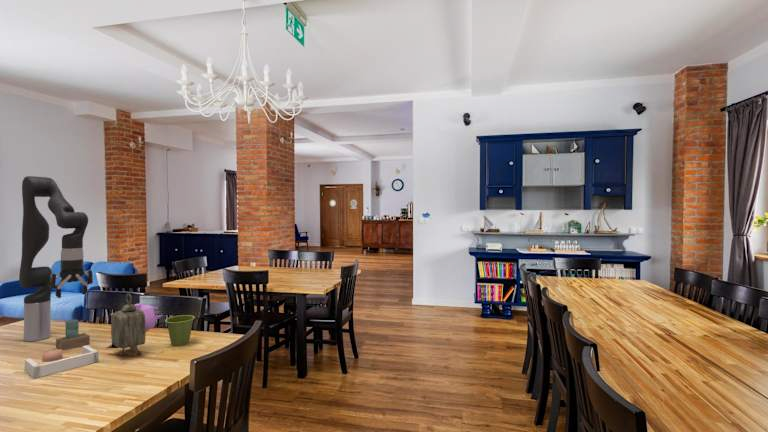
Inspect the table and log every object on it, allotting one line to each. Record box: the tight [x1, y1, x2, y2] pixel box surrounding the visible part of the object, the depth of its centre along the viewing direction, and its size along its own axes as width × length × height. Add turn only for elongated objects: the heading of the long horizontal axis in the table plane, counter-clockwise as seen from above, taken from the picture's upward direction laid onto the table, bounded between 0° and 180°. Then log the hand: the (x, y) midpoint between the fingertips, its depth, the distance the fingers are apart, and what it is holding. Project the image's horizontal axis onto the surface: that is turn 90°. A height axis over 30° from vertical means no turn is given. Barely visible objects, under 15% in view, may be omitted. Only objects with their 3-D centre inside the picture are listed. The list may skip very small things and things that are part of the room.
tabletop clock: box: [110, 292, 147, 356], centre depth 159 cm, size 14×9×25 cm, turn 47°
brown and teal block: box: [55, 318, 91, 352], centre depth 168 cm, size 7×10×11 cm
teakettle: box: [110, 303, 162, 330], centre depth 195 cm, size 17×17×12 cm
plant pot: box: [164, 314, 196, 347], centre depth 172 cm, size 12×12×11 cm
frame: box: [24, 345, 100, 379], centre depth 146 cm, size 12×19×4 cm, turn 145°
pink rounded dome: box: [41, 348, 63, 363], centre depth 153 cm, size 6×6×3 cm
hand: (71, 295), depth 165 cm, fingers open, 8 cm apart
